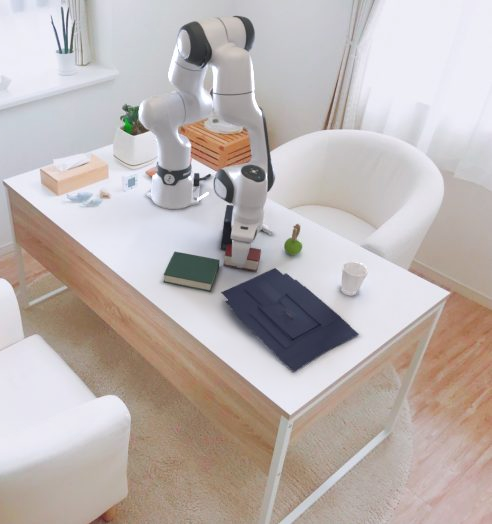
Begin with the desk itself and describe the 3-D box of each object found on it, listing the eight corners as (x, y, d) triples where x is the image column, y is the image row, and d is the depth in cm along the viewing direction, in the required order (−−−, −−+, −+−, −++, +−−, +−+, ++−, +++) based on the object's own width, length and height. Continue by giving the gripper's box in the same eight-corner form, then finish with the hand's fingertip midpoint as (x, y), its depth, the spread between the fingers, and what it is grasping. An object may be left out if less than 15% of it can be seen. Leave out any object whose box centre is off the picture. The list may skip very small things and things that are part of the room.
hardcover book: (174, 259, 177) (174, 251, 175) (219, 267, 173) (219, 259, 171) (163, 282, 167) (163, 274, 166) (210, 291, 164) (211, 283, 162)
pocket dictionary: (227, 254, 178) (228, 243, 176) (259, 260, 176) (261, 249, 173) (223, 265, 173) (224, 254, 171) (256, 271, 171) (258, 260, 169)
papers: (277, 272, 169) (280, 263, 167) (356, 340, 152) (360, 331, 149) (213, 301, 158) (215, 292, 156) (290, 379, 141) (293, 369, 138)
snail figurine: (280, 257, 178) (286, 224, 171) (285, 246, 182) (291, 214, 175) (297, 261, 176) (304, 228, 169) (302, 251, 181) (309, 218, 173)
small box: (240, 252, 180) (244, 223, 174) (219, 249, 181) (222, 221, 175) (242, 233, 188) (246, 206, 182) (222, 231, 189) (225, 204, 183)
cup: (331, 292, 164) (337, 269, 159) (346, 275, 171) (352, 253, 166) (355, 302, 161) (362, 279, 156) (369, 284, 167) (376, 262, 162)
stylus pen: (275, 234, 188) (276, 229, 187) (269, 237, 187) (270, 232, 186) (243, 214, 198) (243, 210, 197) (237, 217, 197) (238, 212, 195)
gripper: (242, 201, 174) (237, 239, 183) (229, 237, 159) (225, 277, 167) (263, 205, 173) (257, 243, 181) (252, 241, 157) (247, 281, 165)
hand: (241, 259), depth 174 cm, fingers closed on pocket dictionary, 6 cm apart
